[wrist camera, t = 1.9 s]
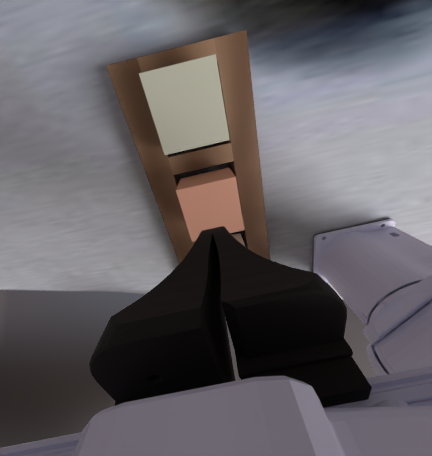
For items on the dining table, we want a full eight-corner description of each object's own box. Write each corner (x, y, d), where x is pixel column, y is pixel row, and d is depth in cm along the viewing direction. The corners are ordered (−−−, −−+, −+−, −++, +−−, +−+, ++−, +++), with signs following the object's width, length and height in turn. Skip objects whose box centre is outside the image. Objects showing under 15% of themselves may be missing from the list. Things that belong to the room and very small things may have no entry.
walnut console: (240, 41, 15) (246, 29, 13) (266, 263, 25) (271, 274, 23) (116, 73, 15) (105, 65, 14) (190, 280, 25) (190, 291, 24)
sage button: (212, 72, 14) (215, 54, 11) (223, 137, 17) (229, 139, 13) (153, 87, 15) (138, 73, 11) (172, 149, 17) (164, 155, 13)
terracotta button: (228, 167, 18) (235, 176, 14) (236, 212, 20) (244, 230, 16) (180, 178, 18) (175, 190, 14) (193, 221, 20) (191, 241, 16)
